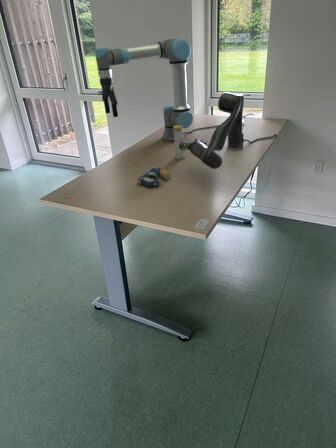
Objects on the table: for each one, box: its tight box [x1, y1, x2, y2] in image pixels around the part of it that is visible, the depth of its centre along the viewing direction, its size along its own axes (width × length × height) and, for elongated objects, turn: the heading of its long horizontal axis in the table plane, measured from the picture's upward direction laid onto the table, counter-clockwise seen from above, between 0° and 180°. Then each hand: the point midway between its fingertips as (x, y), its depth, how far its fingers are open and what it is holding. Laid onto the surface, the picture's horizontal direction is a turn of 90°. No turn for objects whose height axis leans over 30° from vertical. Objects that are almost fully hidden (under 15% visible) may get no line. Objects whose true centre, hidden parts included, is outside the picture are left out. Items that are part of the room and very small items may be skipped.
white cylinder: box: [174, 130, 184, 160], centre depth 206 cm, size 5×5×20 cm
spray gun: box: [137, 166, 171, 188], centre depth 184 cm, size 21×4×15 cm
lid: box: [173, 125, 183, 132], centre depth 202 cm, size 5×5×2 cm
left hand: (111, 114), depth 206 cm, fingers open, 13 cm apart
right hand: (188, 141), depth 188 cm, fingers open, 8 cm apart
